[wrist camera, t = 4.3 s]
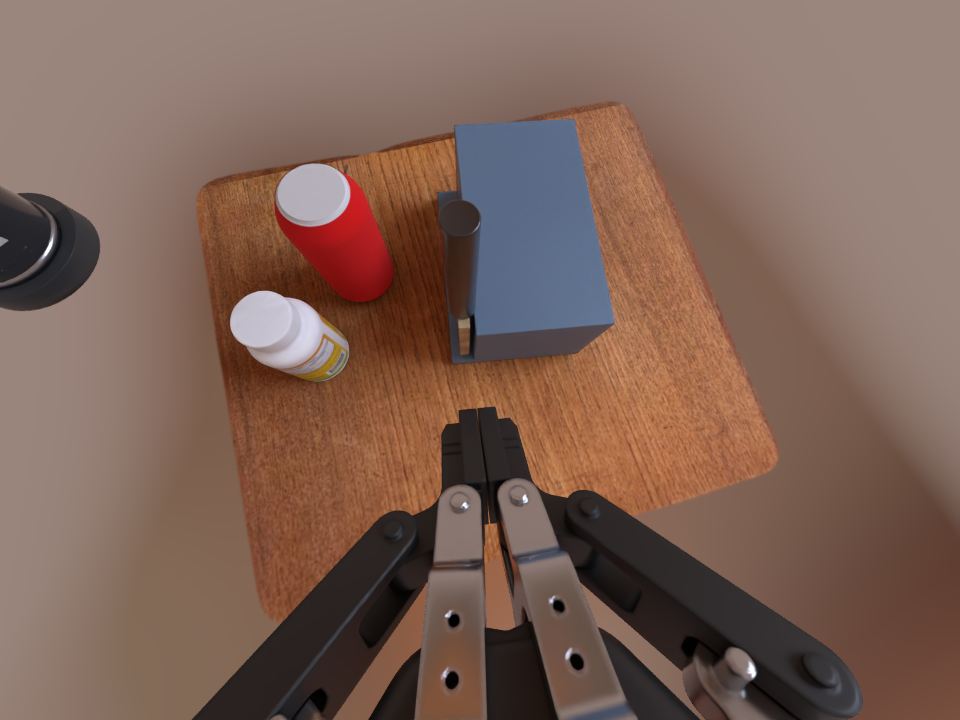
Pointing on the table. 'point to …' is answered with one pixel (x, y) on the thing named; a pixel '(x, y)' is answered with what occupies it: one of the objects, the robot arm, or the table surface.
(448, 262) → the brown flat handled piece
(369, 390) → the table surface
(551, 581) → the robot arm
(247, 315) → the supplement bottle
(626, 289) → the table surface
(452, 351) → the cabinet
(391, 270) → the beverage can
